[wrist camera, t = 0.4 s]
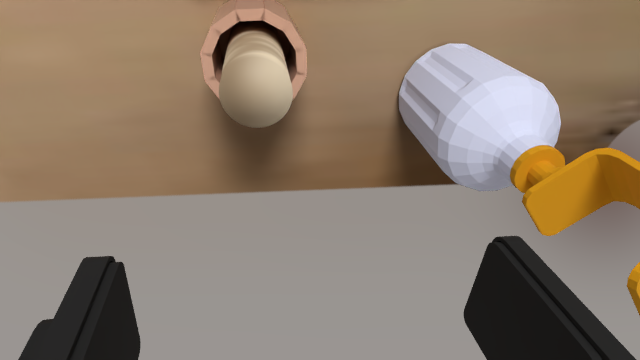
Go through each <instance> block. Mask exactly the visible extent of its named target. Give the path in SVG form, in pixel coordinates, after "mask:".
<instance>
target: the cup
mask: <svg viewBox="0 0 640 360" xmlns="http://www.w3.org/2000/svg"><path fill="white" fill-rule="evenodd" d="M257 20H263V21H265V22H267V23H269V24H271V25H273V26H274V27H275V28H276V30H277V32H278V35H279V38H280V42H281V46H282V50H283V54H284V57H285V61H286V65H287V69H288V73H289V77H290V80H291V84H292V89H293V98H292V100H293V99H294V97H296V95H297V93H298V91H299V89H300V87H301V86H302V84H303V82H304V80H305V78H306V76H307V55H306V46H305V44H304V42H303V40H302V37H301V35H300V33H299V31H298V29H297V27H296V25H295V23H294V22H293V20H292V18H291V17H290V15H289V13H288V12H287V10H286V9H285V7H284V6H283V5H282V4H280V3H278V2H277V1H275V0H229V1H228V2H226V3H225V4H223V5H222V6H221V7H219V8H218V10H217V13H216V15H215V17H214V20H213V22H212V25H211V27H210V29H209V32H208V34H207V37H206V40H205V42H204V45H203V47H202V50H201V52H200V55H201V61H202V67H203V73H204V79H205V82H206V83H207V84H208V86H209V87H210V88H211V89H212V91H213V92H214V93H215V94H216V95H217V97H218V98H219V85H220V80H221V75H222V70H223V65H224V60H225V55H226V50H227V45H228V40H229V35H230V32H231V29H232V27H233V26H234V25H235V24H236V23H237V22H239V21H257ZM219 99H220V98H219Z"/></svg>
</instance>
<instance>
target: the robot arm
mask: <svg viewBox="0 0 640 360" xmlns="http://www.w3.org/2000/svg"><path fill="white" fill-rule="evenodd" d="M464 319H465V323H466V325H467V326H468V328H469V330H470V331H471V333H472V335H473V337H474V338H475V340H476V342H477V343H478V345H479V347H480V349H481V350H482V352H483V354H484V355H485V357H486V359H487V360H636V359H635V358H634V357H633V356H632V355H631V354H630V353H629V352H628V351H627V349H626V348H625V347H624V346H623V345H622V344H621V343H620V342H619V341H618V340H617V339H616V338H615V337H614V336H613V335H612V334H611V332H609V330H608V329H607V328H606V327H605V326H604V325H603V324H602V323H601V322H600V321H599V320H598V319H597V318H596V317H595V316H594V314H593V313H592V312H591V311H590V310H588V308H587V307H586V306H585V305H584V304H583V303H582V302H581V301H580V300H579V299H578V298H577V297H576V295H575V294H574V293H573V292H572V291H571V290H570V289H569V288H568V287H567V286H566V285H565V284H564V283H563V282H562V281H561V280H560V278H559V277H558V276H557V275H556V274H555V273H554V272H553V271H552V270H551V269H550V268H549V267H548V266H547V265H546V264H545V263H544V262H543V260H542V259H541V258H540V257H539V256H538V255H537V254H536V253H535V252H534V251H533V250H532V249H531V248H530V247H529V246H528V245H527V244H526V243H525V242H524V241H523V239H521V238H520V237H518V236H504V237H496V238H495V239H494V240H493V241H492V243H489V245H488V246H487V249H486V251H485V254H484V257H483V260H482V263H481V265H480V268H479V271H478V274H477V276H476V279H475V282H474V284H473V287H472V290H471V293H470V296H469V298H468V301H467V303H466V306H465V309H464ZM139 353H140V336H139V332H138V327H137V323H136V318H135V313H134V309H133V304H132V300H131V295H130V291H129V287H128V282H127V278H126V273H125V268H124V264H123V263H122V262H115V259H114V257H112V256H105V257H86V258H84V259H83V260H82V262H81V264H80V266H79V268H78V270H77V272H76V274H75V276H74V278H73V280H72V282H71V284H70V286H69V288H68V290H67V292H66V294H65V296H64V298H63V301H62V302H61V305H60V307H59V309H58V311H57V313H56V315H55V317H54V319H49V320H48V319H47V320H43V321H41V322H40V323H39V324H38V325H37V327H36V328H35V329H34V331H33V333H32V335H31V337H30V339H29V341H28V342H27V344H26V346H25V348H24V350H23V352H22V354H21V356H20V358H19V359H18V360H138V357H139Z"/></svg>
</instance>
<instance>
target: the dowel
mask: <svg viewBox="0 0 640 360" xmlns="http://www.w3.org/2000/svg"><path fill="white" fill-rule="evenodd" d="M219 98H220V102H221V105H222V107H223V109H224V110H225V112H226V113H227V114H228V115H229V117H231V118H232V119H233V120H234V121H236V122H237V123H239V124H241V125H244V126H247V127H253V128H261V127H267V126H270V125H272V124H274V123H276V122H278V121H279V120H281V119H282V118H283V117H284V116H285V114H286V113H287V112H288V110H289V108H290V106H291V103H292V98H293V89H292V84H291V80H290V77H289V73H288V69H287V65H286V61H285V57H284V54H283V50H282V46H281V42H280V38H279V35H278V32H277V30H276V28H275V27H274V26H273V25H271V24H269V23H267V22H265V21H263V20H257V21H239V22H237V23H236V24H235V25H234V26H233V27H232V29H231V32H230V35H229V40H228V45H227V50H226V55H225V60H224V65H223V70H222V75H221V80H220V85H219Z"/></svg>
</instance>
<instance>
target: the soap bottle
mask: <svg viewBox="0 0 640 360" xmlns="http://www.w3.org/2000/svg"><path fill="white" fill-rule="evenodd" d="M399 111H400V113H401V115H402V118H403V120H404V122H405V124H406V125H407V127H408V128H409V129H410V130H411V132H412V133H413V134H414V135H415V137H416V138H417V139H418V140H419V142H420V143H421V144H422V145H423V147H424V148H425V149H426V151H427V152H428V153H429V154H430V156H431V157H432V158H433V159H434V161H435V162H436V163H437V164H438V166H439V167H440V168H441V169H442V171H443V172H444V173H445V174H446V175H447V176H449V177H450V178H451V179H452V180H453V181H454V182H455V183H457V184H460V185H462V186H465V187H469V188H472V189H475V190H478V191H494V190H495V191H496V190H500V189H503V188H506V187H509V186H512V185H514V186H515V187H516V188H518V189H519V190H520V191H521V192H523V193H525V194H524V196H523V200H522V203H523V204H524V206H525V208H526V209H527V211H528V213H529V215H530V217H531V218H532V220H533V222H534V223H535V225H536V227H537V229H538V230H539V232H541V234H542V235H546V236H551V235H555V234H557V233H558V232H560V231H562V230H564V229H565V228H567V227H569V226H570V225H572V224H574V223H575V222H577V221H578V220H580V219H582V218H584V217H585V216H587V215H589V214H590V213H592V212H594V211H596V210H597V209H599V208H600V207H602V206H604V205H606V204H608V203H611V202H613V201H620V202H626V203H629V204H631V205H633V206H636V207H637V208H639V209H640V162H638V161H636V160H635V159H633V158H631V157H630V156H628V155H626V154H625V153H623V152H621V151H619V150H615V149H612V148H601V149H595V150H593V151H590V152H588V153H585V154H584V155H582V156H580V157H579V158H577V159H576V160H574V161H572V162H571V163H569V164H568V165H566V166H565V160H564V156H563V155H562V154H561V153H560V152H559V151H558V150H557V149H555V148H554V146H555V144H556V142H557V139H558V135H559V130H560V126H561V120H560V114H559V108H558V105H557V103H556V101H555V99H554V97H553V96H552V95H551V93H550V92H549V91H548V89H547V88H546V87H545V85H544V84H543V83H541V82H539V81H537V80H535V79H533V78H531V77H529V76H527V75H526V74H524V73H522V72H520V71H518V70H516V69H514V68H512V67H510V66H508V65H507V64H505V63H503V62H501V61H499V60H497V59H495V58H493V57H491V56H490V55H488V54H486V53H484V52H482V51H480V50H478V49H476V48H474V47H471V46H469V45H467V44H446V45H443V46H440V47H437V48H434V49H431V50H430V51H428V52H427V53H426V54H424V55H423V56H422V57H420V58H419V59H418V60H416V61H415V62H414V64H413V65H412V67H411V68H410V69H409V71H408V72H407V74H406V75H405V76H404V79H403V82H402V85H401V88H400V91H399ZM627 287H628V289H629V292H630V294H631V296H632V299H633V301H634V303H635V306H636V308H637V310H638V313H639V315H640V262H639V263H638V264H637V265H636V267H635V268H634V269H633V270H632V272H631V273H630V276H629V278H628V283H627Z"/></svg>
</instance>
